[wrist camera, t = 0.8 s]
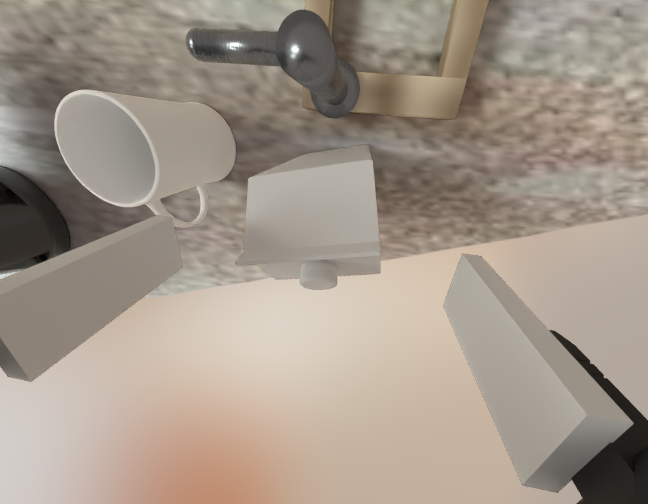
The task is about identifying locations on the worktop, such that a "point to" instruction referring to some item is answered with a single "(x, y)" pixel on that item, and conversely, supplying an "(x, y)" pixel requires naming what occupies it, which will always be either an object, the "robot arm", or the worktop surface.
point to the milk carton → (314, 218)
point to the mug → (143, 148)
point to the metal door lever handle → (287, 57)
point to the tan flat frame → (411, 90)
